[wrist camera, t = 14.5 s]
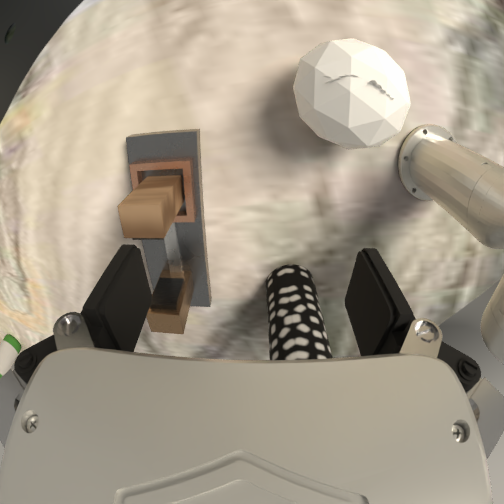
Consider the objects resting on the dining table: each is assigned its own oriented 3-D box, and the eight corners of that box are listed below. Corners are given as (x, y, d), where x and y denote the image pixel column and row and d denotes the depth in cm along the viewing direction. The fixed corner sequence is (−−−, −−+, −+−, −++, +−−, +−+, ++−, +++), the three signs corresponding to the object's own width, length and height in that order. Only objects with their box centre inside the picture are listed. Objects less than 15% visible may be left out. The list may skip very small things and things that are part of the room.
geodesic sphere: (258, 144, 30) (362, 175, 21) (257, 30, 22) (370, 15, 13) (334, 136, 37) (419, 161, 28) (338, 49, 30) (428, 56, 20)
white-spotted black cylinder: (257, 291, 49) (259, 391, 33) (281, 257, 45) (295, 360, 29) (296, 306, 52) (310, 401, 35) (322, 275, 47) (349, 373, 31)
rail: (199, 129, 34) (176, 147, 24) (211, 299, 51) (203, 351, 41) (131, 134, 34) (88, 156, 24) (160, 296, 51) (143, 345, 40)
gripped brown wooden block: (147, 176, 36) (117, 206, 27) (181, 174, 36) (159, 204, 27) (151, 207, 38) (125, 243, 30) (184, 206, 38) (165, 244, 30)
